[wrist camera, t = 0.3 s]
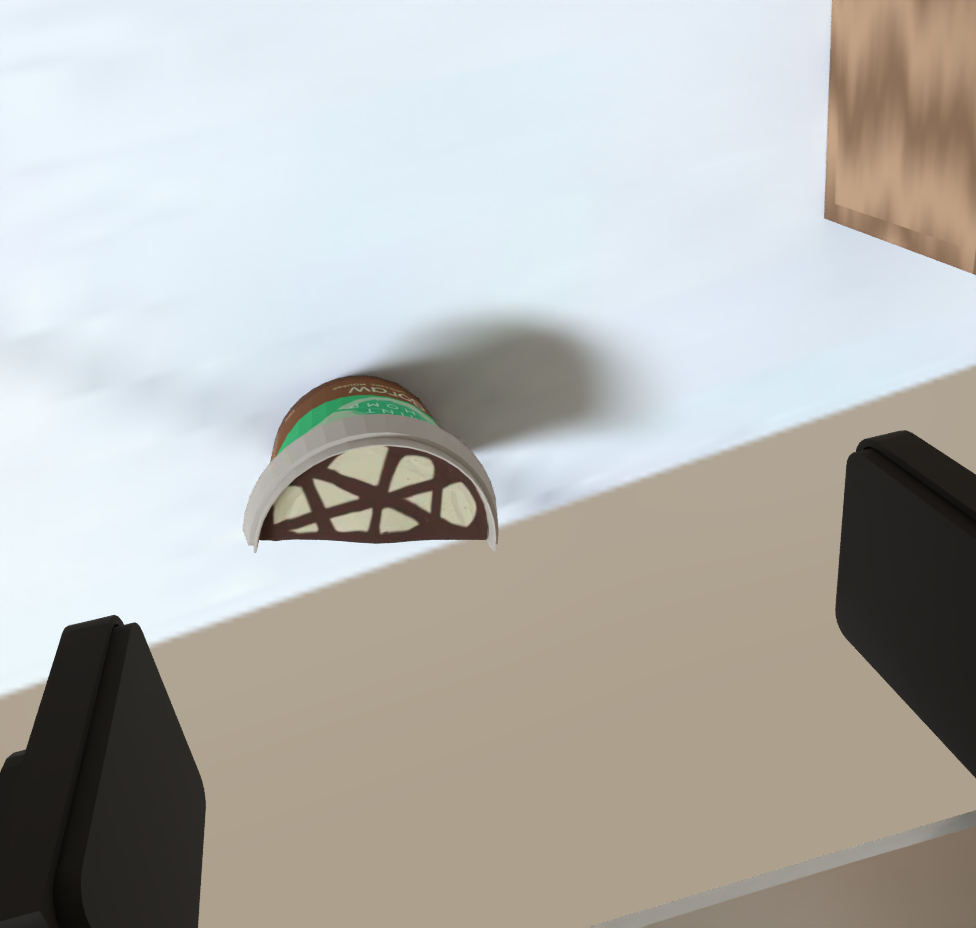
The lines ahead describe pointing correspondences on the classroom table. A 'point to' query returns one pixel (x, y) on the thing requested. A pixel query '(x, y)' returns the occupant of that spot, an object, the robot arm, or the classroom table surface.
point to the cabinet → (904, 125)
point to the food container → (369, 473)
